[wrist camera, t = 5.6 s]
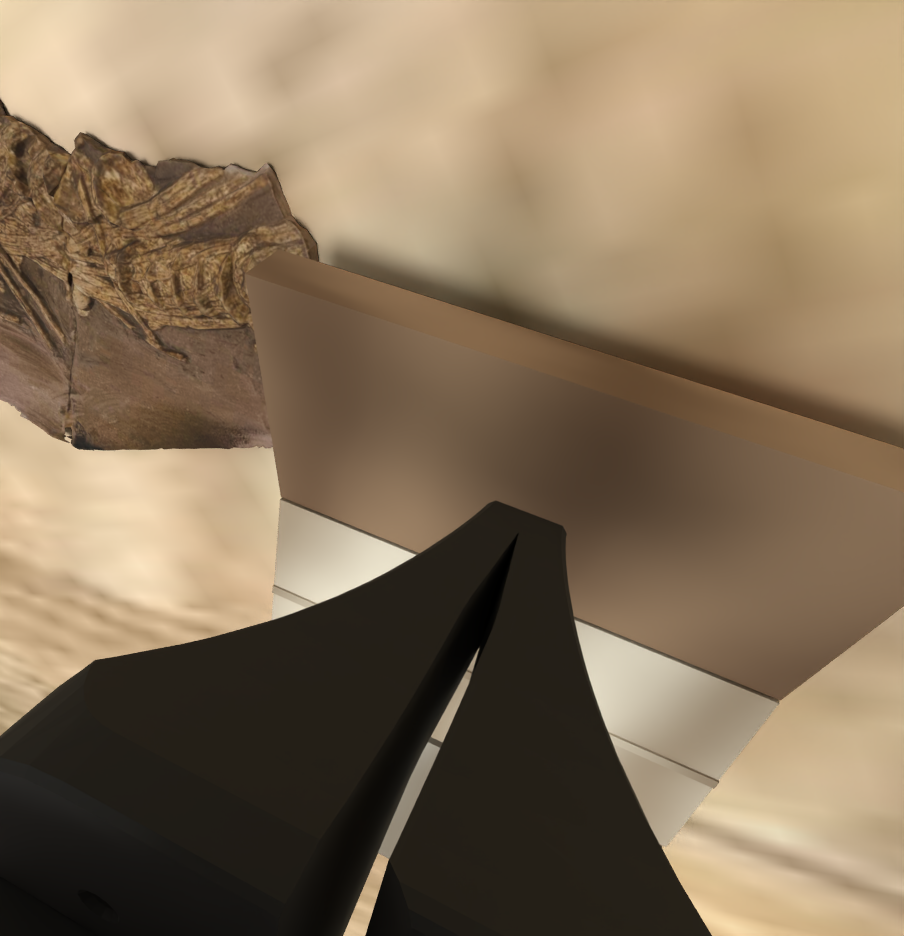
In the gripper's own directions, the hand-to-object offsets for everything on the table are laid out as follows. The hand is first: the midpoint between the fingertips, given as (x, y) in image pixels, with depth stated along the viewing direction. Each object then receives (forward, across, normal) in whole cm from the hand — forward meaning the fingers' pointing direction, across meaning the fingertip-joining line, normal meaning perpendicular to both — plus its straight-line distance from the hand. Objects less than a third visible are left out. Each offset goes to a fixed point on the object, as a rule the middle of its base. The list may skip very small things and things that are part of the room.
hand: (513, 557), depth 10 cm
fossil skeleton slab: (+6, +18, +1) cm, 19 cm away
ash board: (+5, 0, +8) cm, 9 cm away
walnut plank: (+4, 0, 0) cm, 4 cm away
